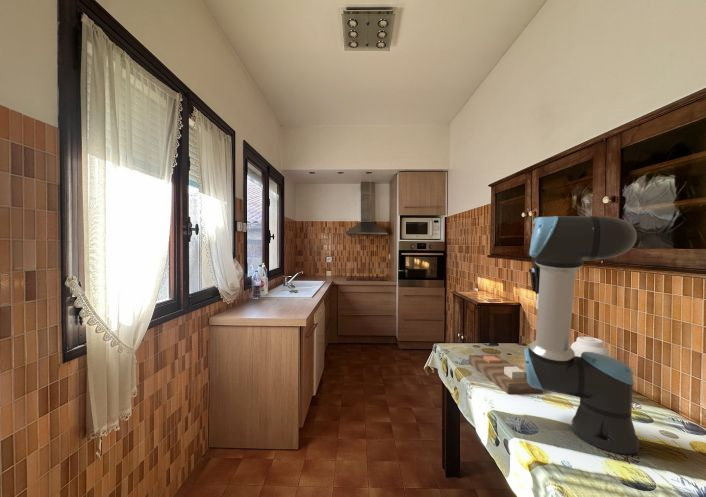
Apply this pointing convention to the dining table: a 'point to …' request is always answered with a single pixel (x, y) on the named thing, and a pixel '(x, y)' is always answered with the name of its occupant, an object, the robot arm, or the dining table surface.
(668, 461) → the dining table surface
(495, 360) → the orange block
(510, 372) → the cream block
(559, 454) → the dining table surface
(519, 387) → the wooden board
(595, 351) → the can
